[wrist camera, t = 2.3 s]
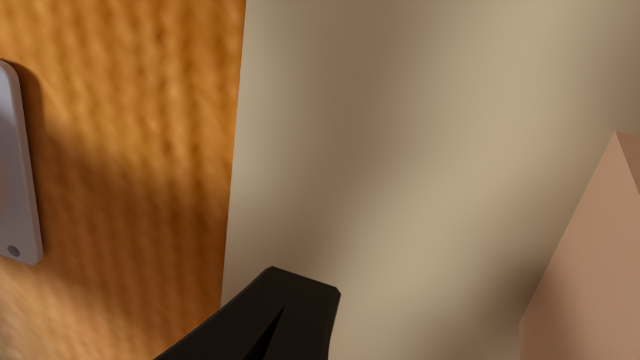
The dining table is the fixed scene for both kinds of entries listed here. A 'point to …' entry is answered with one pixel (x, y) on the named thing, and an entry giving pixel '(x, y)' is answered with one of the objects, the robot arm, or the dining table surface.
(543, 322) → the block
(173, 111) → the dining table surface
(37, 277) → the dining table surface
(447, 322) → the board
